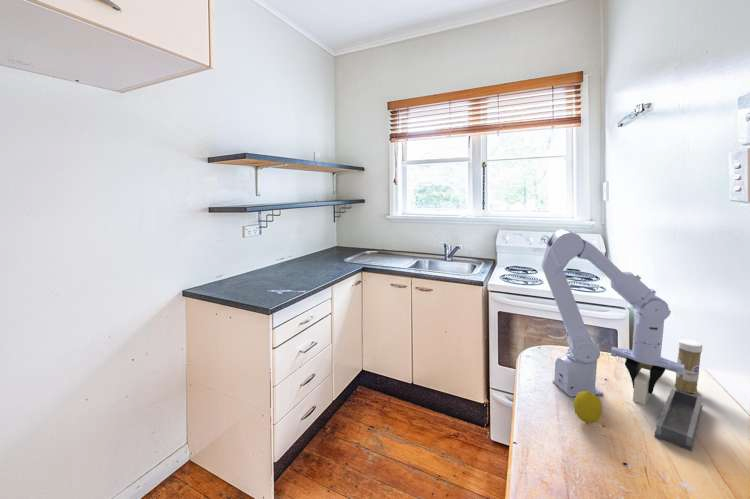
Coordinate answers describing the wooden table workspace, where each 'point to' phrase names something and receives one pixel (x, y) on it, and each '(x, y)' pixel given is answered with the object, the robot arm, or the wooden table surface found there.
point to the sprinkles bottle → (688, 365)
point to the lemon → (588, 407)
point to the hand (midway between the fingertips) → (642, 389)
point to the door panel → (641, 386)
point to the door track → (679, 419)
